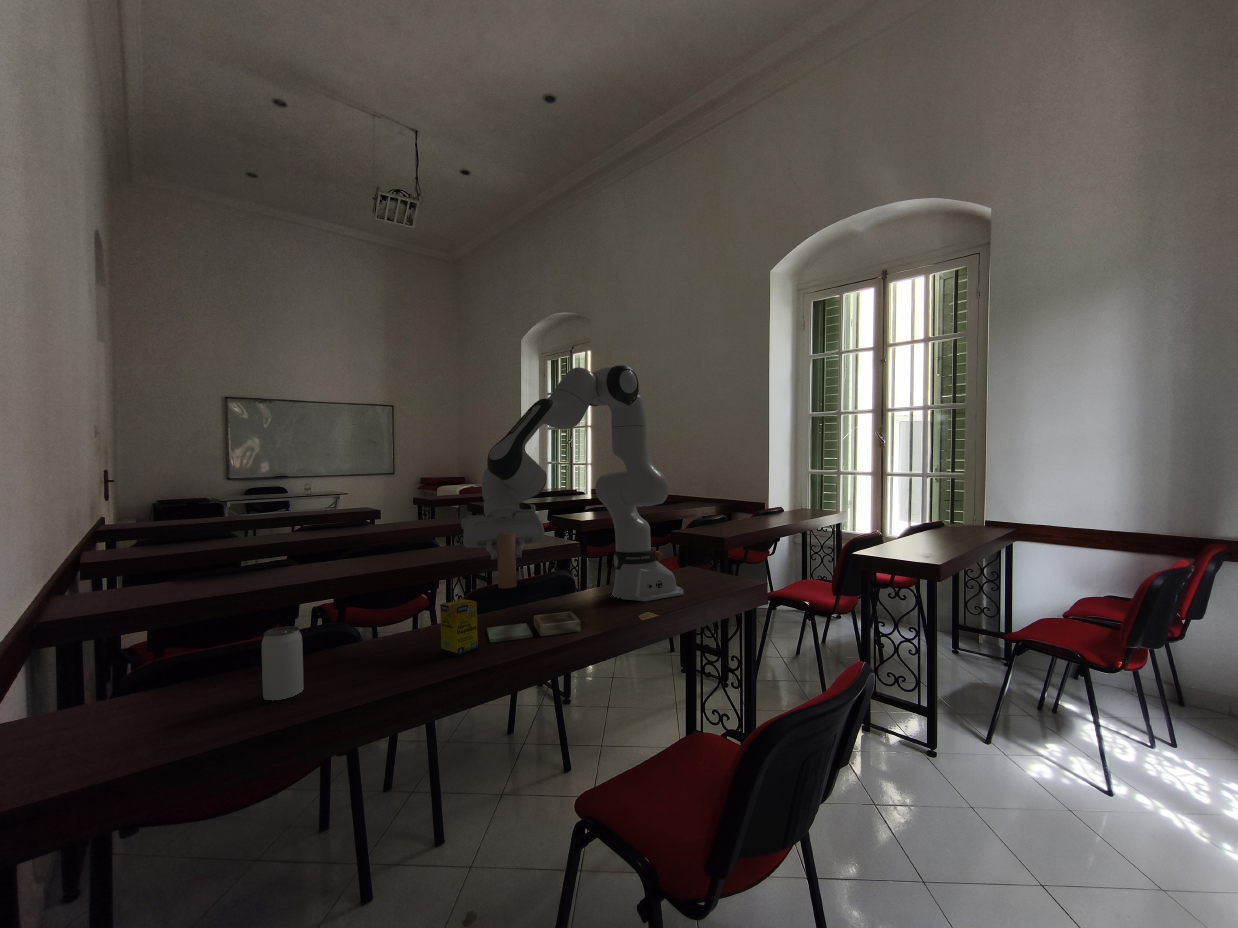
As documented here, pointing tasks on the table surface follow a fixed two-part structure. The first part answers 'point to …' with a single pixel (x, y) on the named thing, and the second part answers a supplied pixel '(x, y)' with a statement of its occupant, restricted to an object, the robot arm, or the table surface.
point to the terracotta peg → (506, 560)
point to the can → (282, 663)
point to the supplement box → (459, 627)
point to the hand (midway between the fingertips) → (507, 556)
